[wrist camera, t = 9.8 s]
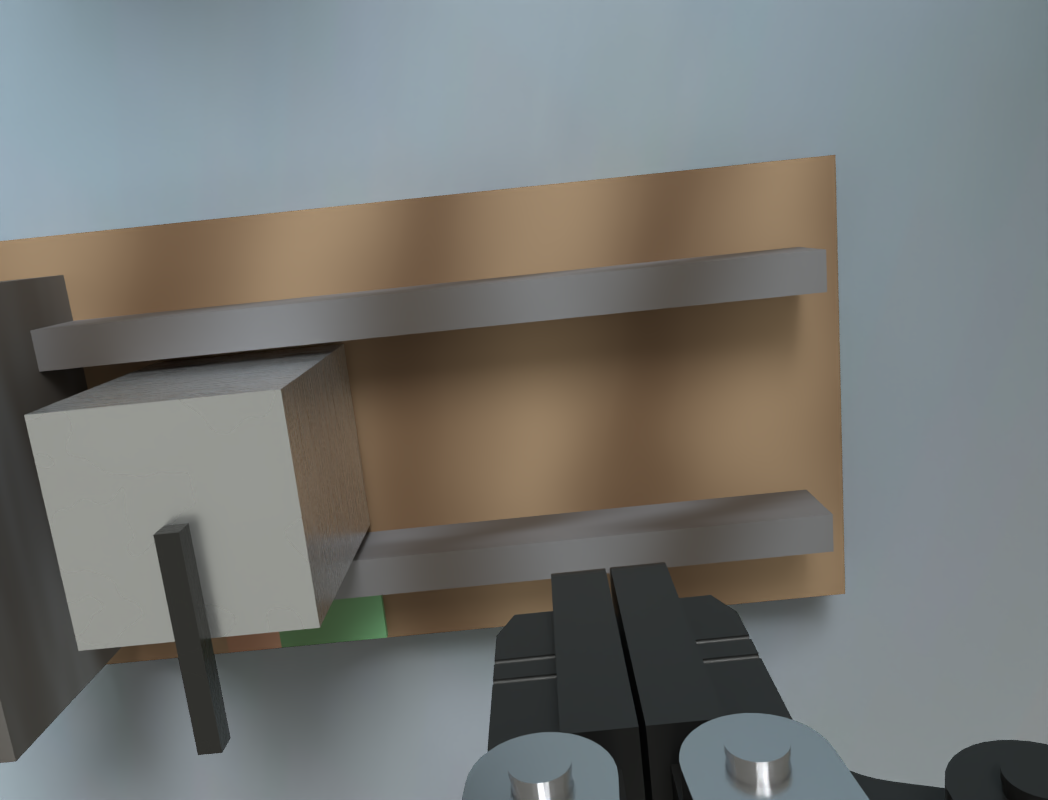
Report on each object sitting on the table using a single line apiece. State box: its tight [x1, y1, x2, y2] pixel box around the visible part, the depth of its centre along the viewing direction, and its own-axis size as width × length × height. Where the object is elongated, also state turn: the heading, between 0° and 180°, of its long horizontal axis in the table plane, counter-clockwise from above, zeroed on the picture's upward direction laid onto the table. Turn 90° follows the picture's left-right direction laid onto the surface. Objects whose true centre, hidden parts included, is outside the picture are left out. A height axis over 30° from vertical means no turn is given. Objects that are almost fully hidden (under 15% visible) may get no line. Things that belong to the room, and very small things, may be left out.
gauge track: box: [0, 155, 845, 763], centre depth 21 cm, size 22×12×8 cm, turn 96°
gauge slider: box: [24, 344, 370, 755], centre depth 20 cm, size 5×7×6 cm
